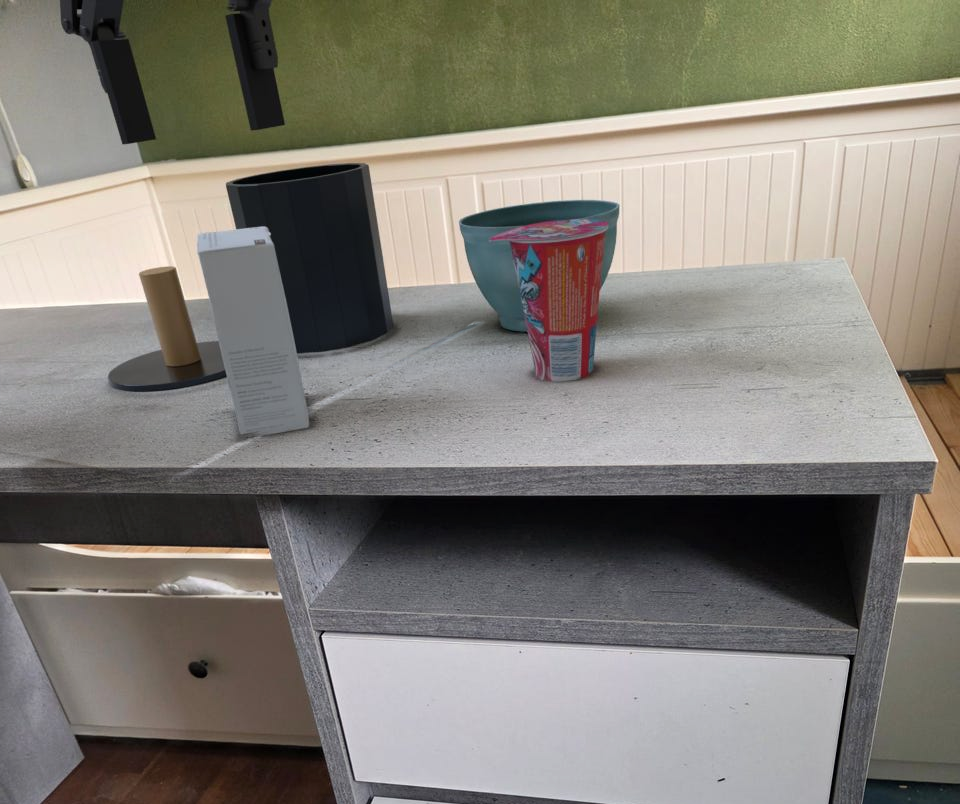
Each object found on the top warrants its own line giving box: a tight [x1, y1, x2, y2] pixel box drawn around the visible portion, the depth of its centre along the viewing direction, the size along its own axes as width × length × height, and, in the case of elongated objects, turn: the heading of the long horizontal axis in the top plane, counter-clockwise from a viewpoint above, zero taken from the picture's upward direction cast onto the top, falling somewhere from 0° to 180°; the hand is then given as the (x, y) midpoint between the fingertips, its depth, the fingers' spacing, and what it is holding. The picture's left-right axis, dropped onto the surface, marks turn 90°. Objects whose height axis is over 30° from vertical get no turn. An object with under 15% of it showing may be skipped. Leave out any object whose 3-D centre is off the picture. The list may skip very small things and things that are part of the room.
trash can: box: [225, 162, 394, 355], centre depth 93 cm, size 14×14×16 cm
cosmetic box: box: [196, 227, 310, 439], centre depth 72 cm, size 8×6×15 cm
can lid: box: [107, 265, 227, 392], centre depth 90 cm, size 15×15×10 cm
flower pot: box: [458, 199, 621, 333], centre depth 91 cm, size 16×16×11 cm
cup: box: [489, 219, 608, 383], centre depth 75 cm, size 9×8×12 cm
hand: (200, 136), depth 64 cm, fingers open, 13 cm apart
